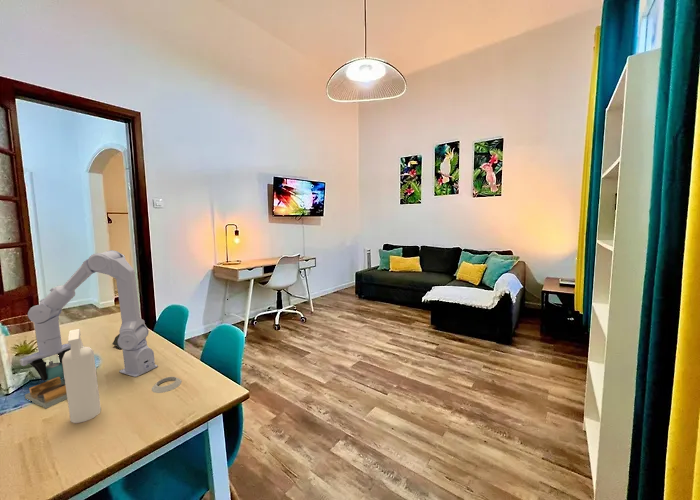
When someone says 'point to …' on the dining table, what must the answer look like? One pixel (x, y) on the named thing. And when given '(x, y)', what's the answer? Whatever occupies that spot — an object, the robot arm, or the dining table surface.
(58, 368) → the spout can
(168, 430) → the dining table surface
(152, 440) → the dining table surface
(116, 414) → the dining table surface
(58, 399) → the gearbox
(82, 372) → the white bottle
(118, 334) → the stone
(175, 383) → the ring
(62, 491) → the dining table surface
